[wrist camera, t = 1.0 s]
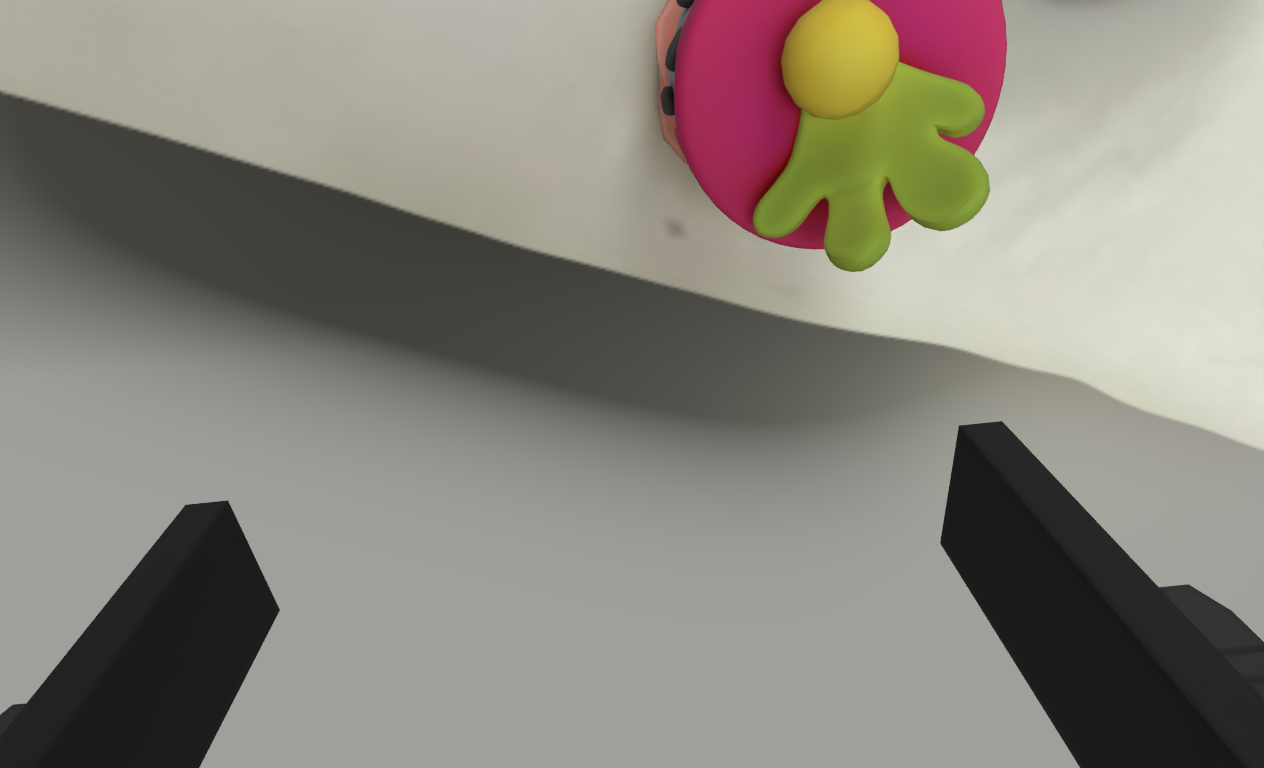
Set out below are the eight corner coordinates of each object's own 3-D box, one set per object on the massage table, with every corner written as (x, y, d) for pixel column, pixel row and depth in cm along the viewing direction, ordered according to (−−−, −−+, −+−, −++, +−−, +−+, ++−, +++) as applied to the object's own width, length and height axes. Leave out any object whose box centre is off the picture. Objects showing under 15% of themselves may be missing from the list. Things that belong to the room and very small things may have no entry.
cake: (599, 70, 31) (602, 131, 18) (777, -150, 27) (945, -277, 14) (760, 226, 35) (860, 370, 22) (935, 50, 31) (1182, 95, 18)
